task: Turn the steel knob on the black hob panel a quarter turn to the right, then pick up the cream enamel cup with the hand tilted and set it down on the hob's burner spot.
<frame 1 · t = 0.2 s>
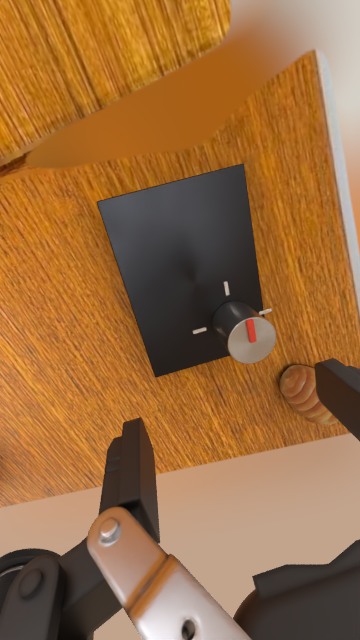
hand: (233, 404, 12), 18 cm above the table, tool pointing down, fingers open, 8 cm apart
pastry: (306, 388, 36), on the table
hob: (189, 278, 28), on the table
knob: (242, 330, 25), point 5 cm above the table, hinge at 0.0°
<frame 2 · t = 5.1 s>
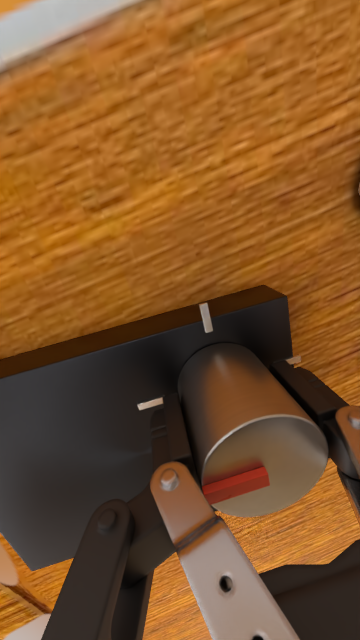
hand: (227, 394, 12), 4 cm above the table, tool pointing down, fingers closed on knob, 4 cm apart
hob: (141, 420, 17), on the table
knob: (239, 419, 11), point 5 cm above the table, hinge at 0.1°, touching gripper
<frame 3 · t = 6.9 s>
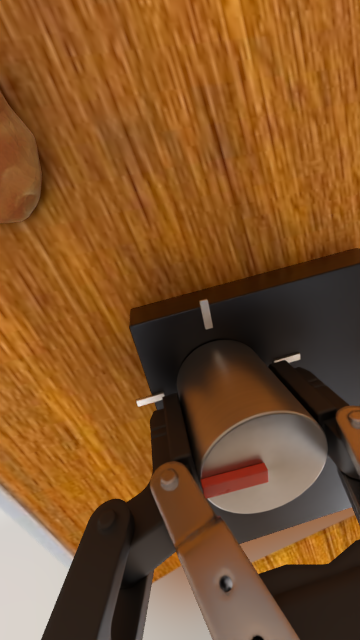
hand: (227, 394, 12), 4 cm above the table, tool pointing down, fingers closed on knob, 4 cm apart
hob: (263, 406, 18), on the table
knob: (238, 415, 11), point 5 cm above the table, hinge at -93.6°, touching gripper
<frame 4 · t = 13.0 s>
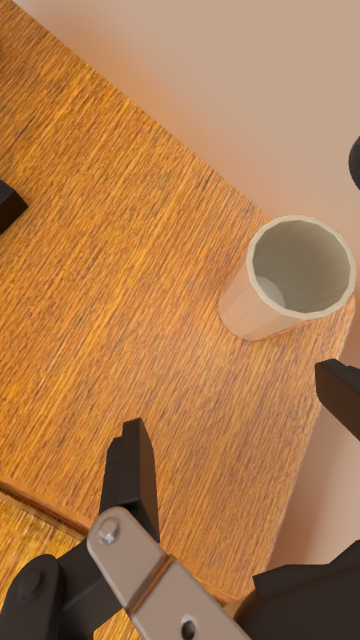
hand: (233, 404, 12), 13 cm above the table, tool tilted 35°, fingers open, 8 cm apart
cup: (252, 306, 26), on the table
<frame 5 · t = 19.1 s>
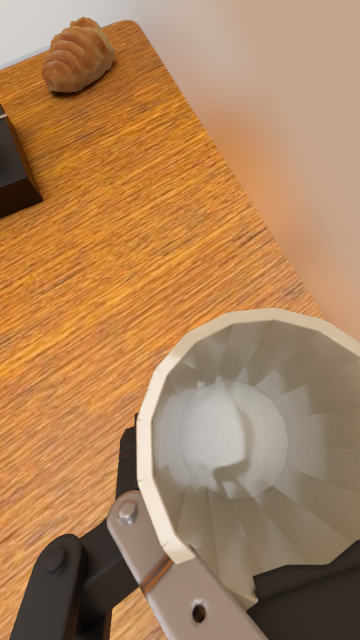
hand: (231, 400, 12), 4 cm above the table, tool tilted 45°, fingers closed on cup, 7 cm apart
cup: (231, 435, 15), on the table, touching gripper
pastry: (83, 76, 33), on the table
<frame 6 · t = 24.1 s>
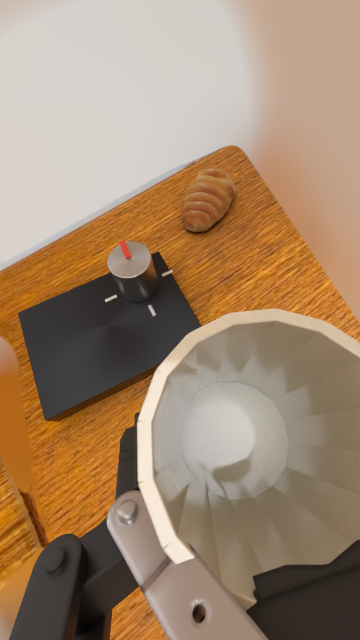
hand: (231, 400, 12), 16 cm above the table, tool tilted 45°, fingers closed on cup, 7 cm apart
cup: (231, 435, 15), point 12 cm above the table, touching gripper
pastry: (208, 208, 38), on the table
hob: (115, 333, 31), on the table
knob: (134, 272, 28), point 5 cm above the table, hinge at -93.0°
when the fingers open (7 cm above the table, at t = 29.0 s): cup stays where it is, resting on hob.
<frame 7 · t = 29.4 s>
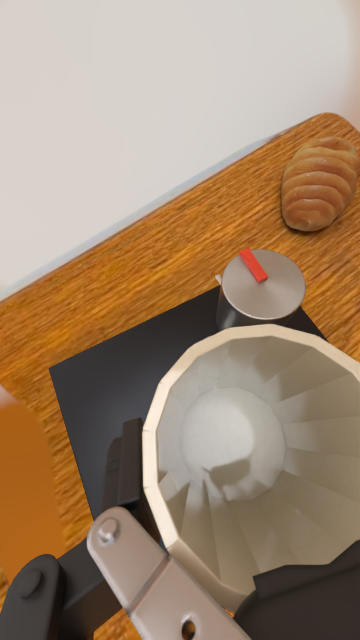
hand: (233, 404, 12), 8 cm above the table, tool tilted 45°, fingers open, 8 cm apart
cup: (230, 439, 16), point 2 cm above the table, touching hob
pastry: (313, 198, 27), on the table
hob: (205, 396, 19), on the table
knob: (254, 303, 16), point 5 cm above the table, hinge at -93.0°
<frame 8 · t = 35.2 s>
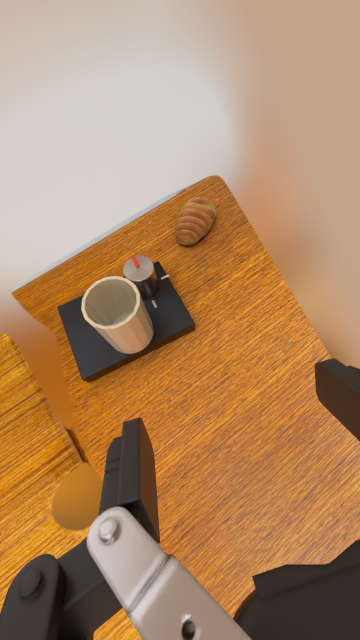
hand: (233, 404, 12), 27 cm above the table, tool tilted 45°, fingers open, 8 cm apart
cup: (131, 332, 40), point 2 cm above the table, touching hob
pastry: (195, 227, 50), on the table
hob: (127, 321, 43), on the table
knob: (141, 277, 40), point 5 cm above the table, hinge at -93.0°
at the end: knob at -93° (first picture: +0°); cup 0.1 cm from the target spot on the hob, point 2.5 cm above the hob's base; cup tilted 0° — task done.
